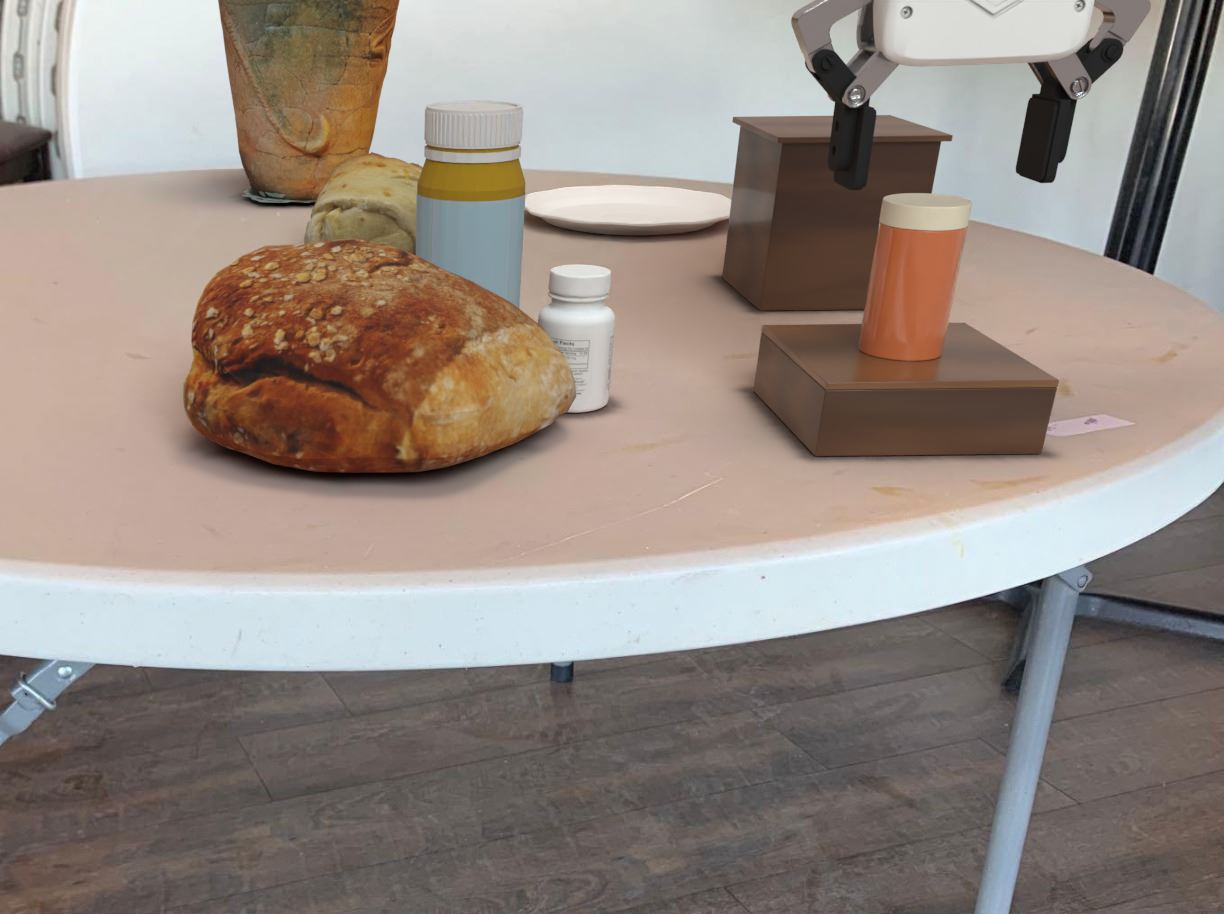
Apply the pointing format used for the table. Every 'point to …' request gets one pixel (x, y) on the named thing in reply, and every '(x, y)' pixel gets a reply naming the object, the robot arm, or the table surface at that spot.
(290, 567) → the table surface
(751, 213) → the wooden cabinet block
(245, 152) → the vase
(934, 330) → the spice jar
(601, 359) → the pill bottle
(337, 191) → the pastry
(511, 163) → the bottle
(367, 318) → the bread
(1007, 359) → the wooden lidded box
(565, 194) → the plate
